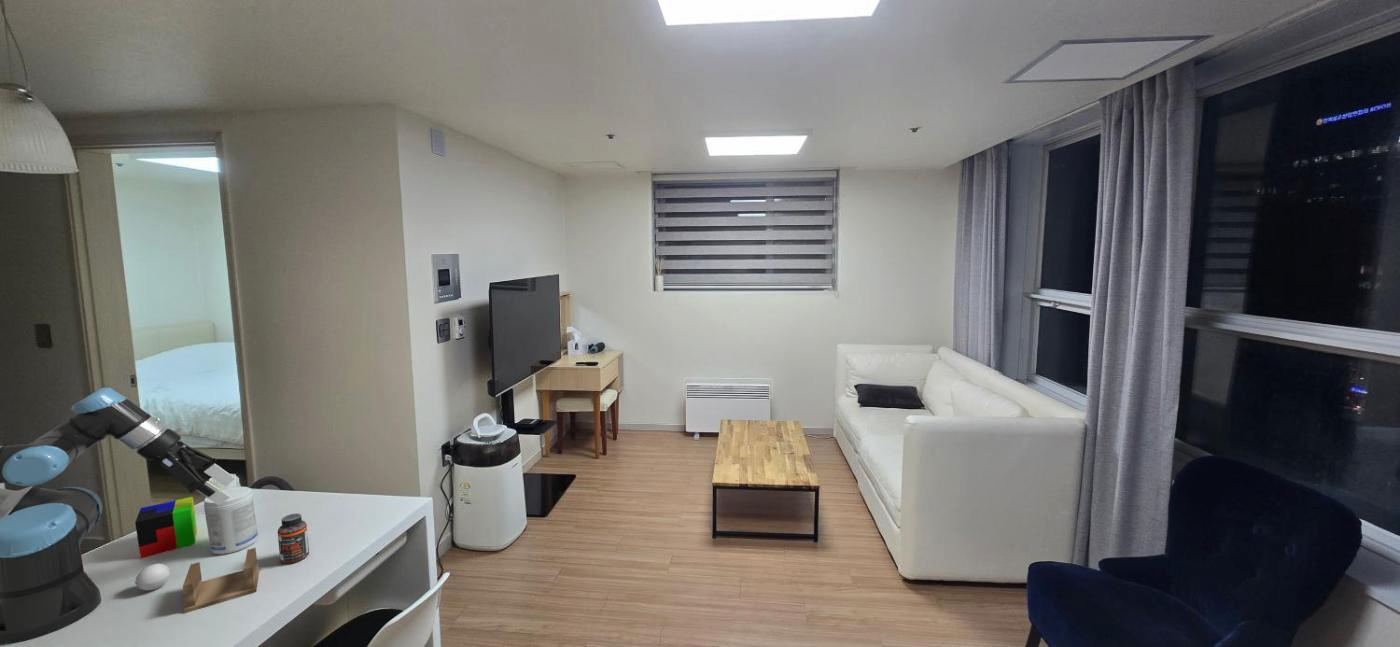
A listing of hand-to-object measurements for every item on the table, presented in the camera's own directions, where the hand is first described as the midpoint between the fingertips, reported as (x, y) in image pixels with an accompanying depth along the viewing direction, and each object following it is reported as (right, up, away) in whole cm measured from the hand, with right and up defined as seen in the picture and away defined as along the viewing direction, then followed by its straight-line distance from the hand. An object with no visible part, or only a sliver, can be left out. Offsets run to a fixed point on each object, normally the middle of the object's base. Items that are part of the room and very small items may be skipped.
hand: (227, 491), depth 136 cm
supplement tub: (0, -15, +2) cm, 15 cm away
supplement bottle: (+21, -16, -4) cm, 27 cm away
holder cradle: (+14, -18, -16) cm, 28 cm away
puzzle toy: (-18, -15, +3) cm, 24 cm away
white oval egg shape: (-4, -18, -16) cm, 24 cm away
